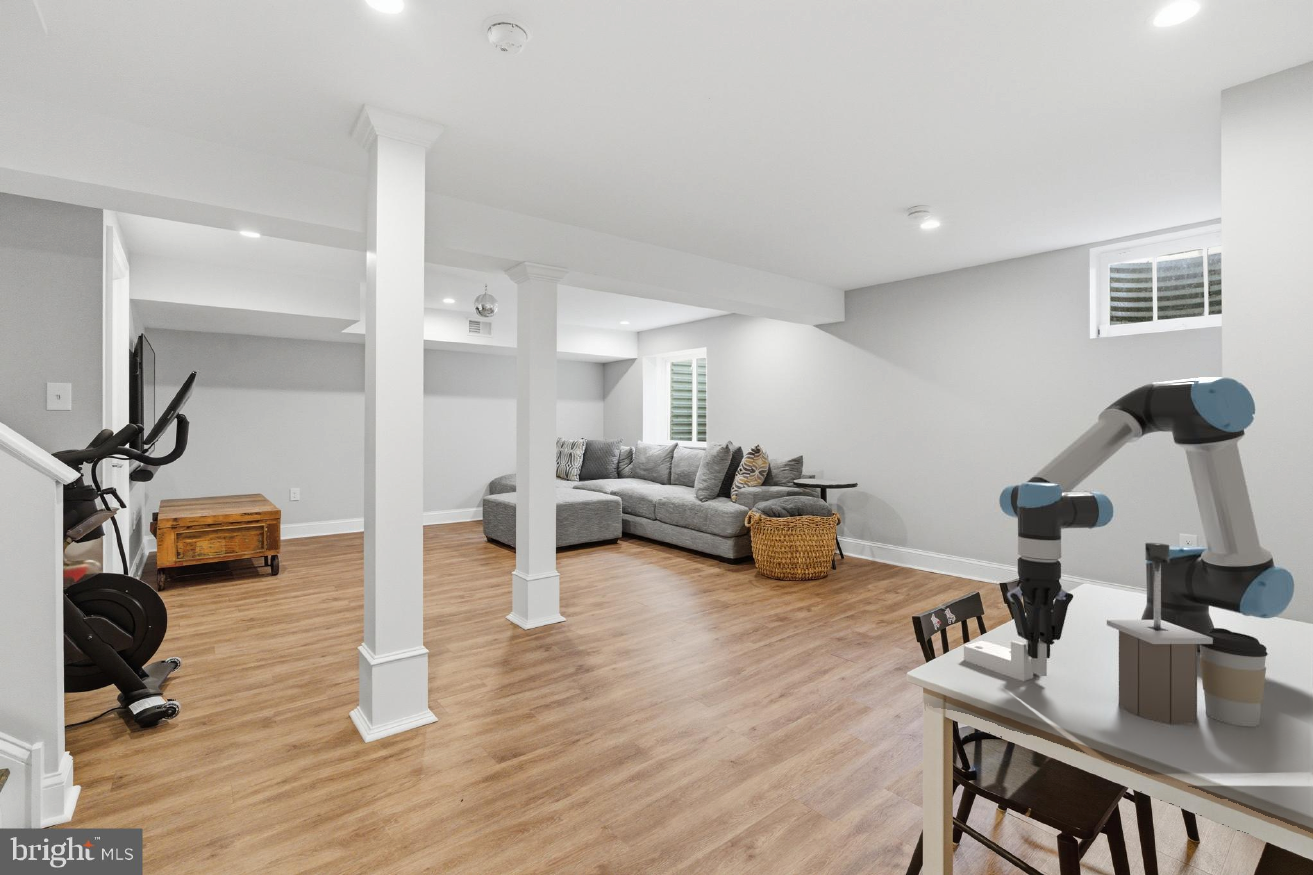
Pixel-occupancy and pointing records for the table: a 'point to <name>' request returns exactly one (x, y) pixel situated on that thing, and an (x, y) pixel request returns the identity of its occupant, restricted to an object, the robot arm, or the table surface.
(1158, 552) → the plunger
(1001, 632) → the table surface
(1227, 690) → the coffee cup
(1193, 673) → the brown pedestal
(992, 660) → the bracket
